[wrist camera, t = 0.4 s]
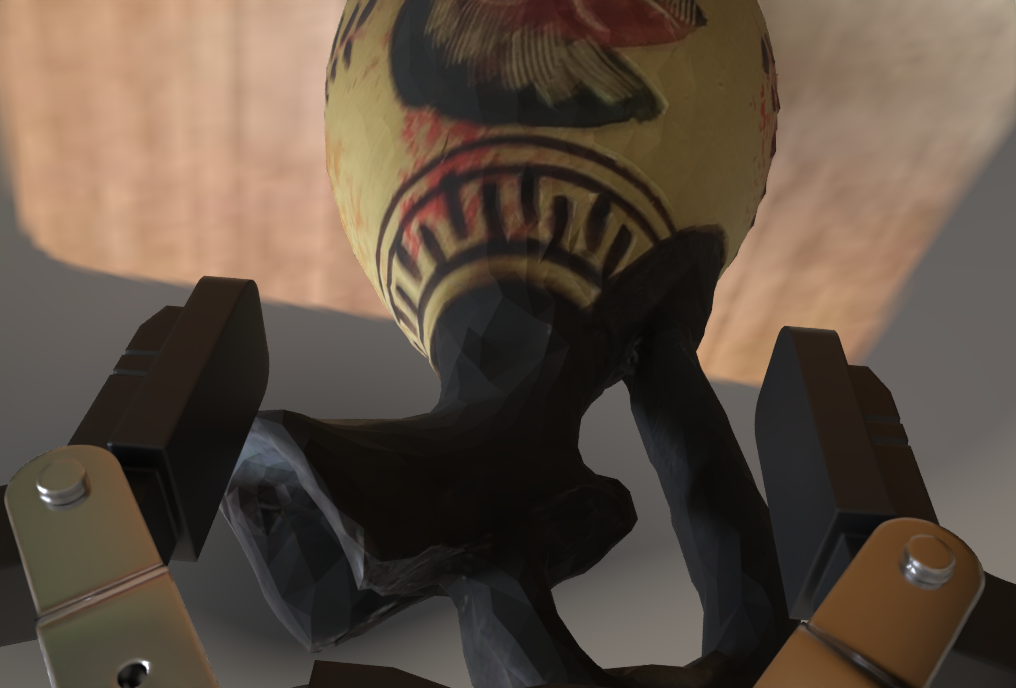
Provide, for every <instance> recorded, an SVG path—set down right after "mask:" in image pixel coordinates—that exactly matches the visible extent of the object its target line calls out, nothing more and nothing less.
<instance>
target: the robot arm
mask: <svg viewBox="0 0 1016 688" xmlns="http://www.w3.org/2000/svg"><path fill="white" fill-rule="evenodd" d="M125 351H126V353H125V355H122V356H121V358H120V360H119V361H118V363H117V365H116V366H115V368H114V373H113V375H110V376H109V378H108V379H107V381H106V383H105V384H104V386H103V387H102V389H101V391H100V392H99V394H98V396H97V397H96V399H95V401H94V402H93V404H92V406H91V407H90V409H89V411H88V412H87V414H86V415H85V417H84V419H83V420H82V422H81V424H80V425H79V427H78V428H77V430H76V432H75V434H74V435H73V437H72V438H71V440H70V442H69V443H68V445H67V446H64V447H60V448H56V449H53V450H50V451H48V452H45V453H43V454H41V455H39V456H37V457H35V458H34V459H32V460H31V461H29V462H28V463H26V464H25V465H24V466H23V467H21V468H20V469H19V470H18V471H17V473H16V474H15V475H14V476H13V477H12V479H11V480H10V482H9V484H7V485H3V486H0V647H1V646H6V645H11V644H16V643H21V642H26V641H31V640H36V639H38V641H39V644H40V648H41V651H42V654H43V657H44V661H45V664H46V668H47V672H48V675H49V679H50V682H51V686H52V688H220V685H219V683H218V681H217V679H216V676H215V674H214V672H213V670H212V667H211V665H210V662H209V660H208V658H207V656H206V653H205V651H204V649H203V647H202V644H201V642H200V639H199V637H198V635H197V633H196V630H195V628H194V626H193V624H192V621H191V619H190V617H189V614H188V612H187V610H186V607H185V605H184V603H183V601H182V598H181V596H180V594H179V591H178V589H177V587H176V585H175V582H174V580H173V577H172V575H171V573H170V571H169V569H168V567H167V566H168V563H169V561H170V560H178V561H189V562H197V560H198V557H199V555H200V552H201V550H202V548H203V545H204V543H205V540H206V538H207V535H208V533H209V530H210V528H211V525H212V523H213V520H214V518H215V516H216V513H217V510H218V508H219V506H220V503H221V501H222V498H223V496H224V493H225V491H226V488H227V486H228V483H229V481H230V479H231V476H232V474H233V471H234V469H235V466H236V464H237V461H238V459H239V456H240V454H241V451H242V449H243V446H244V444H245V442H246V439H247V437H248V434H249V432H250V429H251V427H252V424H253V422H254V419H255V417H256V414H257V412H258V409H259V407H260V405H261V402H262V400H263V397H264V394H265V391H266V387H267V383H268V376H269V353H268V347H267V341H266V335H265V328H264V322H263V316H262V310H261V303H260V297H259V291H258V287H257V285H256V283H255V281H254V280H249V279H237V278H225V277H214V276H203V277H202V278H201V279H200V280H199V282H198V283H197V285H196V287H195V289H194V290H193V292H192V294H191V296H190V297H189V299H188V301H187V303H186V305H185V306H184V307H178V306H166V307H164V308H163V309H162V310H160V311H159V312H158V313H156V314H155V315H154V316H152V317H151V318H150V319H149V320H147V321H146V322H145V323H143V324H142V325H141V326H140V327H139V329H138V330H137V332H136V334H135V335H134V337H133V339H132V340H131V342H130V343H129V345H128V347H127V348H126V350H125ZM755 437H756V444H757V449H758V455H759V460H760V465H761V470H762V475H763V481H764V486H765V491H766V497H767V502H768V507H769V513H770V518H771V523H772V528H773V534H774V539H775V544H776V550H777V555H778V560H779V565H780V571H781V576H782V581H783V586H784V592H785V597H786V602H787V608H788V613H789V618H790V619H799V620H809V621H808V622H807V623H805V622H802V623H801V624H800V625H799V626H798V627H797V628H796V630H795V631H794V632H793V633H792V635H791V636H790V637H789V639H788V640H787V642H786V643H785V644H784V646H783V647H782V648H781V650H780V651H779V653H778V654H777V655H776V657H775V658H774V659H773V661H772V662H771V664H770V665H769V666H768V668H767V669H766V670H765V672H764V673H763V675H762V676H761V677H760V679H759V680H758V681H757V683H756V684H755V686H754V687H753V688H1016V584H1014V583H1011V582H1008V581H1005V580H1003V579H1000V578H998V577H995V576H993V575H991V574H989V573H987V572H985V571H983V568H982V565H981V563H980V561H979V560H978V558H977V556H976V555H975V553H974V552H973V551H972V549H971V548H970V547H969V546H968V545H967V544H966V543H965V542H964V541H963V540H962V539H960V538H959V537H958V536H956V535H955V534H954V533H952V532H950V531H949V530H947V529H945V528H943V527H941V526H940V525H939V523H938V519H937V517H936V514H935V511H934V509H933V506H932V503H931V500H930V498H929V495H928V492H927V489H926V487H925V484H924V482H923V479H922V476H921V473H920V471H919V468H918V465H917V462H916V460H915V457H914V454H913V451H912V449H911V446H908V438H907V435H906V432H905V430H904V427H903V424H900V416H899V413H898V411H897V408H896V405H895V402H894V400H893V397H892V394H891V392H890V391H889V389H888V388H887V387H886V386H885V385H884V384H883V383H882V382H881V381H880V380H879V378H878V377H877V376H876V375H875V374H874V373H873V372H872V371H871V370H870V369H869V367H866V366H855V365H848V363H847V360H846V357H845V354H844V351H843V348H842V345H841V342H840V338H839V336H838V334H837V332H836V331H835V330H827V329H815V328H804V327H792V326H784V327H783V328H782V329H781V330H780V332H779V335H778V337H777V340H776V344H775V347H774V350H773V353H772V356H771V359H770V362H769V366H768V369H767V372H766V375H765V378H764V381H763V385H762V388H761V391H760V394H759V397H758V401H757V406H756V413H755ZM293 688H450V687H447V686H444V685H441V684H438V683H436V682H433V681H430V680H427V679H424V678H422V677H419V676H416V675H413V674H410V673H407V672H405V671H402V670H399V669H396V668H394V667H383V666H373V665H361V664H352V663H340V662H330V661H320V660H315V662H314V666H313V670H312V675H311V678H310V682H309V684H308V685H302V686H297V687H293ZM524 688H609V687H598V686H587V685H577V684H566V683H550V684H544V685H537V686H531V687H524Z"/></svg>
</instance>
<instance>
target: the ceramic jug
mask: <svg viewBox="0 0 1016 688" xmlns="http://www.w3.org/2000/svg"><path fill="white" fill-rule="evenodd" d="M777 75H778V74H776V70H775V61H774V57H773V50H772V46H771V42H770V38H769V34H768V30H767V26H766V22H765V19H764V16H763V14H762V12H761V9H760V7H759V5H758V3H757V0H347V2H346V5H345V7H344V10H343V13H342V16H341V19H340V22H339V25H338V28H337V31H336V34H335V37H334V40H333V44H332V50H331V55H330V59H329V62H328V65H327V75H326V82H325V141H326V162H327V171H328V174H329V178H330V182H331V187H332V191H333V194H334V197H335V200H336V203H337V207H338V210H339V214H340V218H341V221H342V224H343V227H344V230H345V232H346V235H347V237H348V239H349V242H350V244H351V247H352V249H353V252H354V254H355V256H356V257H357V259H358V261H359V262H360V264H361V266H362V267H363V269H364V271H365V273H366V274H367V276H368V278H369V279H370V281H371V283H372V284H373V286H374V288H375V290H376V292H377V293H378V295H379V297H380V299H381V301H382V303H383V304H384V306H385V307H386V308H387V309H388V311H389V312H390V313H391V315H392V316H393V318H394V320H395V321H396V323H397V324H398V326H399V327H400V329H401V330H402V331H403V332H404V334H405V335H406V336H407V337H408V339H409V341H410V342H411V344H412V345H413V346H414V347H415V348H416V349H417V350H418V351H419V352H420V353H421V354H422V355H423V356H424V357H426V358H427V359H428V360H429V361H430V364H431V366H432V368H433V370H434V371H435V373H436V375H437V377H438V378H439V379H440V380H441V394H440V399H439V402H438V404H437V405H436V407H435V408H434V409H433V410H432V411H431V412H430V413H426V414H421V415H416V416H412V417H407V418H402V419H315V418H310V417H308V416H305V415H303V414H300V413H295V412H291V411H287V410H267V411H258V412H257V414H256V417H255V419H254V422H253V424H252V427H251V429H250V432H249V434H248V437H247V439H246V442H245V444H244V446H243V449H242V451H241V454H240V456H239V459H238V461H237V464H236V466H235V469H234V471H233V474H232V476H231V479H230V481H229V483H228V486H227V488H226V491H225V493H224V496H223V498H222V501H221V503H220V506H219V508H220V510H221V511H222V513H223V515H224V516H225V518H226V519H227V521H228V523H229V525H230V526H231V528H232V529H233V531H234V533H235V535H236V537H237V539H238V541H239V543H240V544H241V546H242V548H243V550H244V552H245V554H246V556H247V558H248V560H249V561H250V564H251V565H252V567H253V569H254V571H255V574H256V576H257V579H258V581H259V584H260V587H261V589H262V592H263V594H264V597H265V599H266V601H267V602H268V603H269V605H270V607H271V608H272V610H273V611H274V613H275V614H276V616H277V617H278V619H279V620H280V621H281V622H282V623H283V624H284V625H285V627H286V628H287V629H288V630H289V631H290V632H291V633H292V634H293V635H294V636H295V638H296V639H297V640H298V641H299V642H300V643H301V644H302V645H303V646H304V647H305V648H306V649H307V651H308V652H309V653H316V652H320V651H322V650H324V649H328V648H332V647H335V646H337V645H339V644H341V643H343V642H345V641H346V640H348V639H351V638H354V637H357V636H360V635H362V634H364V633H366V632H367V631H369V630H370V629H372V628H374V627H375V626H376V625H378V624H380V623H382V622H383V621H385V620H386V619H388V618H389V617H391V616H393V615H395V614H397V613H399V612H401V611H402V610H404V609H406V608H408V607H410V606H412V605H414V604H417V603H419V602H421V601H424V600H426V599H428V598H431V597H433V596H449V597H450V598H451V599H452V601H453V602H454V604H455V606H456V607H457V609H458V617H459V624H460V631H461V639H462V646H463V653H464V658H465V661H466V665H467V668H468V672H469V676H470V679H471V683H472V685H473V687H474V688H524V687H531V686H537V685H544V684H550V683H566V684H577V685H587V686H598V687H609V688H753V687H754V686H755V684H756V683H757V681H758V680H759V679H760V677H761V676H762V675H763V673H764V672H765V670H766V669H767V668H768V666H769V665H770V664H771V662H772V661H773V659H774V658H775V657H776V655H777V654H778V653H779V651H780V650H781V648H782V647H783V646H784V644H785V643H786V642H787V640H788V639H789V637H790V636H791V635H792V633H793V632H794V631H795V630H796V628H797V627H798V626H799V625H800V624H801V620H799V619H790V618H789V613H788V608H787V602H786V597H785V592H784V586H783V581H782V576H781V571H780V565H779V560H778V555H777V550H776V544H775V539H774V534H773V528H772V523H771V518H770V513H769V508H768V507H767V505H766V503H765V501H764V500H763V498H762V496H761V494H760V493H759V491H758V489H757V487H756V484H755V481H754V479H753V476H752V473H751V471H750V469H749V467H748V465H747V462H746V460H745V458H744V455H743V453H742V451H741V449H740V446H739V444H738V442H737V440H736V438H735V435H734V433H733V431H732V428H731V426H730V423H729V420H728V417H727V415H726V413H725V411H724V409H723V407H722V405H721V404H720V402H719V400H718V398H717V396H716V394H715V392H714V391H713V389H712V387H711V385H710V383H709V381H708V380H707V378H706V376H705V374H704V372H703V370H702V369H701V366H700V363H699V360H698V356H697V353H696V351H697V349H698V347H699V344H700V342H701V340H702V338H703V336H704V332H705V327H706V325H707V322H708V319H709V317H710V314H711V311H712V305H713V297H714V291H715V287H716V284H717V281H718V280H719V279H720V277H721V276H722V274H723V273H724V271H725V270H726V268H727V267H729V266H730V264H731V263H732V261H733V260H734V258H735V257H736V255H737V253H738V251H739V248H740V246H741V244H742V242H743V240H744V238H745V237H746V235H747V233H748V231H749V230H750V229H751V228H752V227H753V226H754V222H755V217H756V213H757V208H758V206H759V204H760V202H761V200H762V199H763V197H764V195H765V194H766V182H767V177H768V172H769V169H770V166H771V161H772V159H773V157H774V155H775V152H776V131H777V114H778V112H779V110H780V103H779V98H778V93H777ZM620 380H623V381H624V383H625V384H626V386H627V388H628V391H629V394H630V403H631V410H632V413H633V416H634V419H635V422H636V424H637V427H638V430H639V433H640V435H641V438H642V441H643V443H644V446H645V449H646V452H647V455H648V457H649V460H650V462H651V463H652V465H653V466H654V468H655V469H656V471H657V474H658V477H659V480H660V483H661V486H662V488H663V491H664V494H665V497H666V499H667V502H668V504H669V507H670V512H671V521H672V526H673V528H674V531H675V533H676V535H677V538H678V540H679V543H680V547H681V550H682V553H683V556H684V559H685V562H686V565H687V568H688V571H689V574H690V578H691V580H692V583H693V584H694V586H695V588H696V589H697V591H698V593H699V596H700V600H701V603H702V607H703V611H704V619H703V640H702V657H700V658H698V659H696V660H695V661H693V662H691V663H689V664H687V665H685V666H684V667H677V666H666V665H653V664H651V665H642V666H631V667H620V668H611V669H602V668H601V667H600V666H598V665H597V664H596V663H595V662H594V661H593V660H592V659H591V658H590V657H589V656H588V655H587V654H586V653H585V652H584V651H583V650H582V649H581V648H580V647H579V645H578V644H577V642H576V641H575V639H574V638H573V636H572V635H571V633H570V632H569V630H568V629H567V627H566V626H565V624H564V623H563V621H562V620H561V618H560V617H559V615H558V613H557V610H556V607H555V603H554V600H553V597H552V592H551V589H552V588H553V587H554V586H556V585H557V584H559V583H561V582H562V581H564V580H567V579H570V578H573V577H575V576H578V575H581V574H584V573H585V572H586V571H588V570H589V569H590V568H592V567H593V566H594V565H595V564H597V563H598V562H599V561H600V560H601V559H602V558H603V557H604V556H605V555H606V554H607V553H608V552H609V551H610V550H611V549H612V548H613V547H614V546H615V545H616V544H617V543H618V542H620V541H621V540H622V539H623V538H624V537H625V536H626V535H627V534H628V533H629V532H631V531H632V529H633V527H634V525H635V523H636V521H637V520H638V518H637V514H636V511H635V507H634V504H633V501H632V497H631V494H630V491H629V490H628V489H627V488H626V487H625V486H624V485H623V484H622V483H621V482H620V481H619V480H617V479H614V478H610V477H606V476H601V475H597V474H595V473H594V472H593V471H592V470H591V469H589V468H588V467H587V466H586V465H585V464H584V463H583V460H582V457H581V455H580V452H579V449H578V439H579V429H580V423H581V418H582V416H583V415H584V413H585V412H586V410H587V409H588V408H589V406H590V405H591V403H593V402H594V401H595V400H596V399H597V398H598V397H599V396H601V395H602V393H603V391H604V390H605V389H607V388H609V387H611V386H612V385H614V384H616V383H617V382H619V381H620Z"/></svg>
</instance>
